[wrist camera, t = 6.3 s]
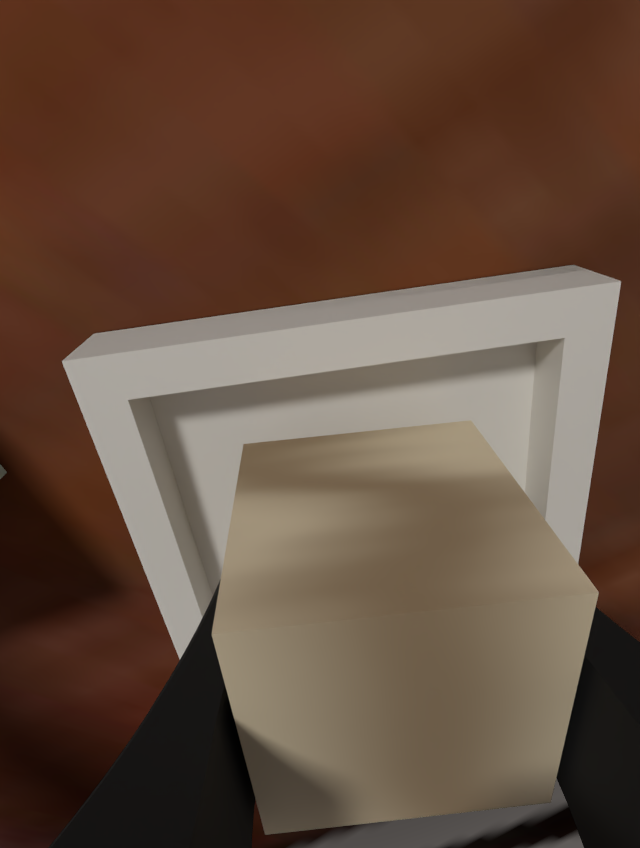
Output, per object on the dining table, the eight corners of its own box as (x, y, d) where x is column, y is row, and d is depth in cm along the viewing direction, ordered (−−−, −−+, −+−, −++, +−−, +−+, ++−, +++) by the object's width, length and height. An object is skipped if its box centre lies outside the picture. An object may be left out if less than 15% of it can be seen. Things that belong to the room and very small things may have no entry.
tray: (206, 652, 16) (197, 705, 15) (93, 334, 11) (61, 361, 10) (536, 607, 16) (563, 655, 15) (573, 264, 11) (621, 281, 10)
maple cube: (273, 608, 13) (265, 834, 9) (243, 444, 11) (211, 634, 6) (461, 588, 13) (551, 802, 9) (471, 420, 11) (598, 592, 6)
